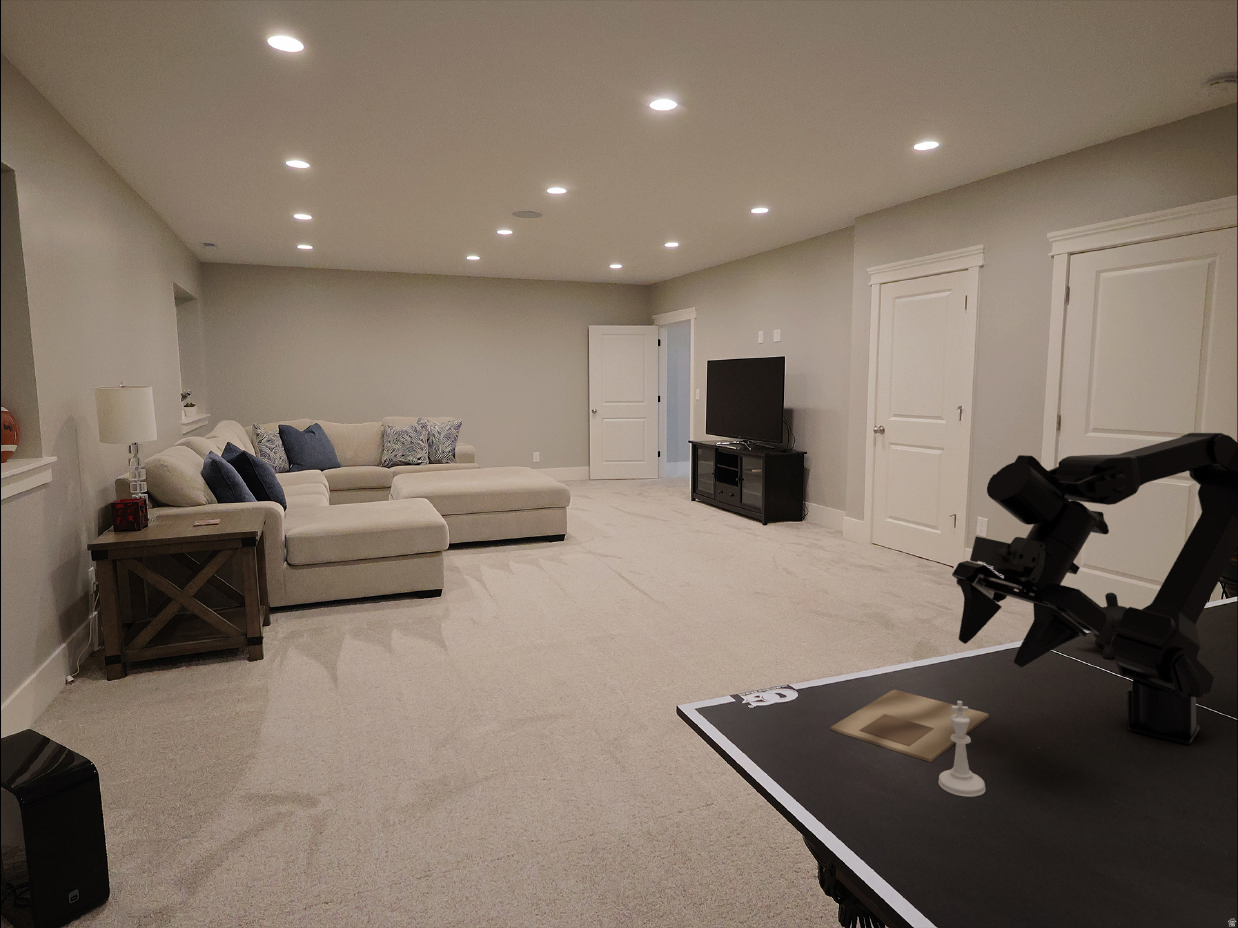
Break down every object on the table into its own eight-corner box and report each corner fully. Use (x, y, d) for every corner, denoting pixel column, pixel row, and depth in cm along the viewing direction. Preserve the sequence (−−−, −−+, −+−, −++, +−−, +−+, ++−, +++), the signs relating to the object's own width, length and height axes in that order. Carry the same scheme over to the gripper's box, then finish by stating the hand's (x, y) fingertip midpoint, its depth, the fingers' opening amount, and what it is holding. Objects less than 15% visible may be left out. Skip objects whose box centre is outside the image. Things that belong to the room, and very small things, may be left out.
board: (988, 716, 101) (988, 713, 101) (930, 762, 89) (930, 758, 89) (894, 691, 111) (894, 688, 111) (830, 729, 99) (830, 726, 99)
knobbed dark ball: (1106, 651, 116) (1052, 613, 127) (1136, 686, 119) (1081, 646, 130) (1157, 606, 114) (1098, 572, 126) (1187, 642, 118) (1127, 606, 129)
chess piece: (991, 798, 80) (989, 711, 80) (944, 795, 81) (941, 709, 81) (978, 776, 85) (976, 693, 84) (934, 774, 86) (932, 692, 85)
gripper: (954, 501, 96) (894, 600, 94) (1072, 519, 78) (1000, 642, 76) (1011, 545, 98) (953, 643, 97) (1138, 572, 80) (1069, 692, 79)
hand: (988, 652), depth 87 cm, fingers open, 9 cm apart
